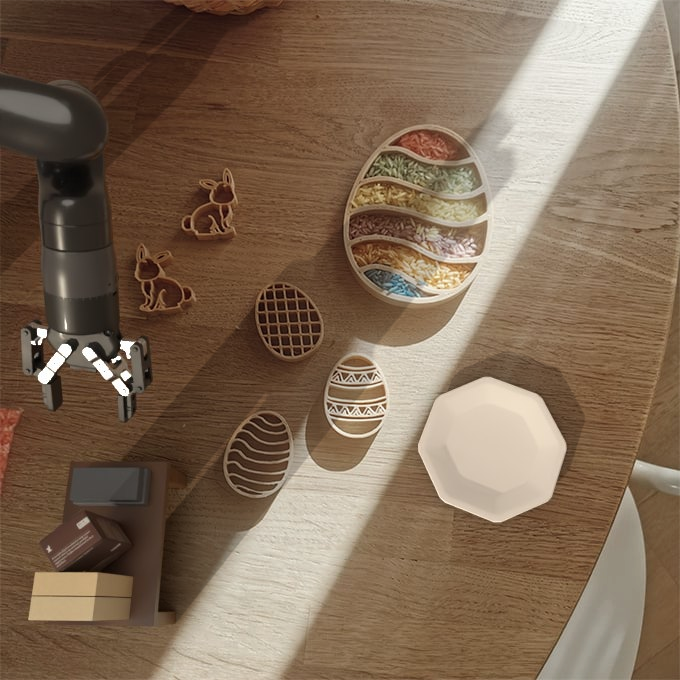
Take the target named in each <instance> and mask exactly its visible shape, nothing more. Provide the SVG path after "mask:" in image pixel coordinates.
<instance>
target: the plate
mask: <svg viewBox="0 0 680 680" xmlns="http://www.w3.org/2000/svg"><path fill="white" fill-rule="evenodd" d="M427 417H428V418H427V420H426V422H425V425H424V428H423V430H422V433H421V436H420V438H419V441H418V443H417V447H418V448H417V452H418V454H419V457H420V458H421V461H422V462H423V464H424V467H425V469H426V471H427V473H428V476H429V479H430V480H431V482H432V485H433V486H434V487H433V488H435V491H436V492H437V496H438V498H439V499H440V500H441V501H442V502H443V503H444V504H447V505H450V506H452V507H455V508H456V509H459V510H461V511H465V512H466V513H470V514H472V515H474V516H477V517H479V518H482V519H484V520H487V521H489V522H492V523H502V522H505V521H507V520H509V519H511V518H514V517H516V516H518V515H520V514H523V513H525V512H527V511H530V510H533V509H535V508H537V507H539V506H541V505H543V504H545V503H548V502H549V501H550V500H551V499H552V498H553V495H554V492H555V489H556V485H557V482H558V479H559V476H560V473H561V469H562V466H563V463H564V460H565V457H566V453H567V450H568V446H567V442H566V440H565V437H564V436H563V434H562V432H561V430H560V429H559V427H558V425H557V423H556V421H555V419H554V418H553V416H552V414H551V412H550V410H549V408H548V406H547V404H546V402H545V401H544V399H543V397H542V396H541V395H539V394H538V393H536V392H533V391H530V390H528V389H525V388H522V387H519V386H517V385H515V384H511V383H509V382H506V381H503V380H500V379H498V378H495V377H492V376H482V377H480V378H477V379H475V380H472V381H471V382H468V383H465V384H462V385H460V386H458V387H456V388H454V389H451V390H448V391H446V392H443V393H442V394H440V395H438V396H437V397H436V398H435V400H434V401H433V405H432V407H431V409H430V411H429V415H428V416H427Z"/></svg>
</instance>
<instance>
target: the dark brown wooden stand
mask: <svg viewBox="0 0 680 680" xmlns="http://www.w3.org/2000/svg"><path fill="white" fill-rule="evenodd" d="M68 468H69V469H68V476H67V482H66V489H65V490H66V491H65V499H64V506H63V514H62V519H61V524H62V523H64V522H66V521H68V520H69V519H70V518H72V517H73V516H74V515H75V514H77V513H78V512H79V511H81V510H83V509H85V510H87V511H90V512H93V513H96V514H98V515H101V516H104V517H107V518H110V519H113V520H116V521H117V522H118V523H119V525H120V526H121V528H122V529H123V531H124V533H125V534H126V536H127V537H128V539H129V540H130V542H131V543H132V545H133V547H132V548H131V549H129V550H128V551H126V552H125V553H124V554H122V555H121V556H119V557H118V558H117V559H116V560H114V561H113V562H112V563H111V564H109V565H108V566H107V567H105V568H104V569H103V570H102V571H100V572H99V573H107V574H115V575H123V576H132V577H133V586H132V595H131V597H114V598H131V606H130V616H129V619H120V620H98V621H65V620H48V623H47V625H48V626H70V627H71V626H72V627H73V626H74V627H75V626H76V627H78V626H79V627H80V626H81V627H82V626H83V627H85V626H87V627H89V626H90V627H157V626H159V627H160V626H171V625H176V621H177V611H159V601H160V591H161V580H162V579H161V578H162V568H163V567H162V566H163V557H164V556H163V555H164V545H165V535H166V533H165V532H166V524H167V523H166V522H167V511H168V499H169V489H186V488H187V483H188V476H186V475H185V474H183V473H182V472H180V471H179V470H177V469H176V468H174V467H173V466H172V464H171V462H169V461H70V462H69V467H68ZM74 468H141V469H148V470H150V471H151V482H150V493H149V503H148V506H79V505H76V504H73V503H74V501H71V500H70V492H71V485H72V477H73V470H74ZM54 572H56V571H54ZM61 597H68V596H61Z"/></svg>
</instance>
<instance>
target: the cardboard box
mask: <svg viewBox="0 0 680 680" xmlns="http://www.w3.org/2000/svg"><path fill="white" fill-rule="evenodd" d="M132 586H133V577H132V576H123V575H115V574H107V573H99V572H55V571H35V572H34V578H33V585H32V592H31V599H30V606H29V613H28V618H27V619H28V621H49V620H65V621H98V620H120V619H129V616H130V606H131V598H114V597H131V595H132ZM61 596H68V597H61Z"/></svg>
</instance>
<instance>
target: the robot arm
mask: <svg viewBox="0 0 680 680" xmlns="http://www.w3.org/2000/svg"><path fill="white" fill-rule="evenodd" d="M110 137H111V125H110V121H109V117H108V114H107V112H106V110H105V108H104V107H103V105H102V103H101V101H100V100H99V98H98V97H97V96H96V94H95V93H94V92H93V91H92V90H91V89H90V88H88V87H87V86H86V85H84V84H82V83H80V82H78V81H76V80H72V79H66V78H65V79H55V80H51V81H49V82H47V83H46V82H41V81H37V80H34V79H30V78H25V77H21V76H16V75H13V74H8V73H5V72H2V71H0V148H1V149H5V150H7V151H11V152H14V153H17V154H20V155H23V156H26V157H29V158H33V159H34V160H35V166H36V173H37V174H36V175H37V181H38V197H37V198H38V200H37V201H38V203H37V209H38V210H37V211H38V222H39V223H38V224H39V234H40V243H41V249H40V251H41V253H40V270H41V279H42V288H43V289H42V290H43V300H44V311H45V320H46V324H47V325H44V324H43V323H42V321H41V320H39V319H37V318H36V319H33V320H32V321H30V322H28V323H27V324H26V325H24V327H22V328H21V329H20V347H21V350H20V351H21V368H22V369H21V370H22V373H23V374H24V375H25V376H27V377H31V376H33V377H36V378H37V379H38V381H39V382H40V385H41V393H42V401H43V403H44V405H45V406H47V410H48V411H49V412H50V411H51V412H56V411H57V410H58V409H59V408H60V407H61V406H63V403H64V396H63V387H62V386H63V385H62V376H61V375H60V374H59V375H58V373H59V372H60V371H61V370H62V368H64V366H65V365H67V366H68V367H69V370H70V369H71V370H85V371H87V372H89V373H90V372H91V373H95V374H97V373H98V372H99V374H100V375H101V376H102V377H103V378H104V380H105V381H106V382H108V383H109V382H110V383H111V384H112V386H114V388H115V389H116V390H117V391H118V393H117V396H116V397H117V409H118V410H117V412H118V422H119V423H123V424H127V423H128V422H129V420H131V419H132V418H133V416H134V415H135V414H136V412H137V411H138V406H137V405H138V404H137V402H138V401H137V394H143V393H144V392H145V391H146V390H147V388H148V387H149V386H150V385H151V384H152V383H153V381H154V377H153V366H152V356H151V347H150V339H149V337H147V336H146V335H144V334H143V335H140V336H139V337H138V338H133V337H124V334H122V332H121V328H120V323H121V315H120V313H121V311H120V294H119V293H120V291H119V279H120V275H119V272H118V260H117V253H116V249H115V244H114V229H113V226H114V225H113V211H112V203H111V197H110V193H109V190H108V186H107V182H106V181H107V180H106V158H105V157H106V155H105V150H106V148H107V145H108V143H109V141H110ZM45 341H47V342H48V344H49V345H50V347H51V348H52V349H53V350H54V351H55V353H54V355H53V356H52V357H51V359H50V360H49V361H48V362H47V363H46V362H45V356H44V354H45V353H44V342H45ZM121 350H123V351H125V355H126V358H127V359H129V360H130V366H131V370H130V368H129V363H128V361H127V360H126V359H125V357H124V356H123V354H122V353H121ZM111 362H112V364H113V367H112V366H111V365H110V364H111Z"/></svg>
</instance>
